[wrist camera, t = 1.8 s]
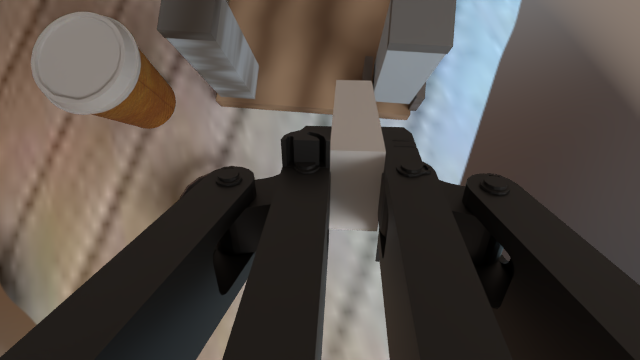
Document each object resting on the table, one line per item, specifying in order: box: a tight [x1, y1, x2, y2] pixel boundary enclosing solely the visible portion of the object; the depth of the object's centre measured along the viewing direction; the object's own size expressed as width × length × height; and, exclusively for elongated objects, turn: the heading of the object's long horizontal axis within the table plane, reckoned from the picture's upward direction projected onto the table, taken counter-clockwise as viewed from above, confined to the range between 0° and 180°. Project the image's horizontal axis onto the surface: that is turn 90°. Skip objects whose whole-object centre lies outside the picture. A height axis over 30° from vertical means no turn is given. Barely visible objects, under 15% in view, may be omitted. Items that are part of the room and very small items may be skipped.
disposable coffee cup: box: [31, 12, 176, 129], centre depth 37 cm, size 10×10×12 cm
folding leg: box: [373, 0, 456, 104], centre depth 30 cm, size 4×4×14 cm
